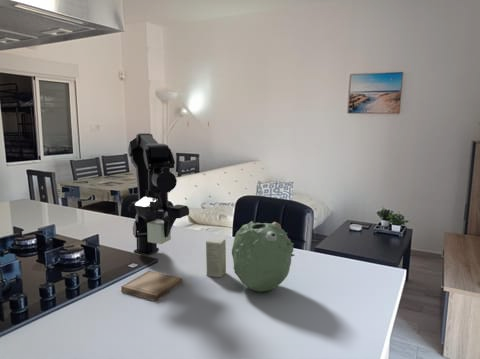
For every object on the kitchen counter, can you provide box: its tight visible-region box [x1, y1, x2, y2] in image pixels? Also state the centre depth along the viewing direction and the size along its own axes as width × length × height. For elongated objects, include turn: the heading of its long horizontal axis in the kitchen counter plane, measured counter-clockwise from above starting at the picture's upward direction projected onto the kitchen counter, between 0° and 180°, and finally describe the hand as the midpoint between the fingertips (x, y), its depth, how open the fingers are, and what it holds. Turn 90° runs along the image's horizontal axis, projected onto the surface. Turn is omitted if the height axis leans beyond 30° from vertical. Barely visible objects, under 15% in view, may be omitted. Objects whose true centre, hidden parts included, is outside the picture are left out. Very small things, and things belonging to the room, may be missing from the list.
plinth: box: [120, 270, 183, 302], centre depth 103 cm, size 12×12×2 cm
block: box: [147, 218, 172, 245], centre depth 111 cm, size 5×5×6 cm
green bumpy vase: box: [231, 220, 296, 293], centre depth 102 cm, size 16×19×20 cm
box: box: [205, 237, 227, 278], centre depth 112 cm, size 5×4×11 cm
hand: (159, 235), depth 112 cm, fingers closed on block, 5 cm apart
